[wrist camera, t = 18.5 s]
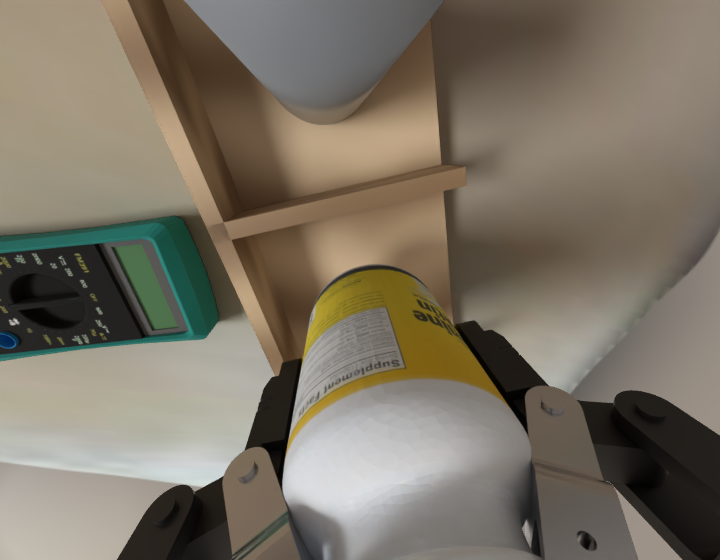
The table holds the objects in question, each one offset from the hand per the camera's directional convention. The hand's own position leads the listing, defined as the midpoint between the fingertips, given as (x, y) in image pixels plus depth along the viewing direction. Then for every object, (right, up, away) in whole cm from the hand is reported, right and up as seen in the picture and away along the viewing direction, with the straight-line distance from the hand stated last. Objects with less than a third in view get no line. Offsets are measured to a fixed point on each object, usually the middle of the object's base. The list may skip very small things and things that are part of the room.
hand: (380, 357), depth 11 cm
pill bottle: (0, +1, +3) cm, 3 cm away
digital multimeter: (-18, +3, +6) cm, 19 cm away
